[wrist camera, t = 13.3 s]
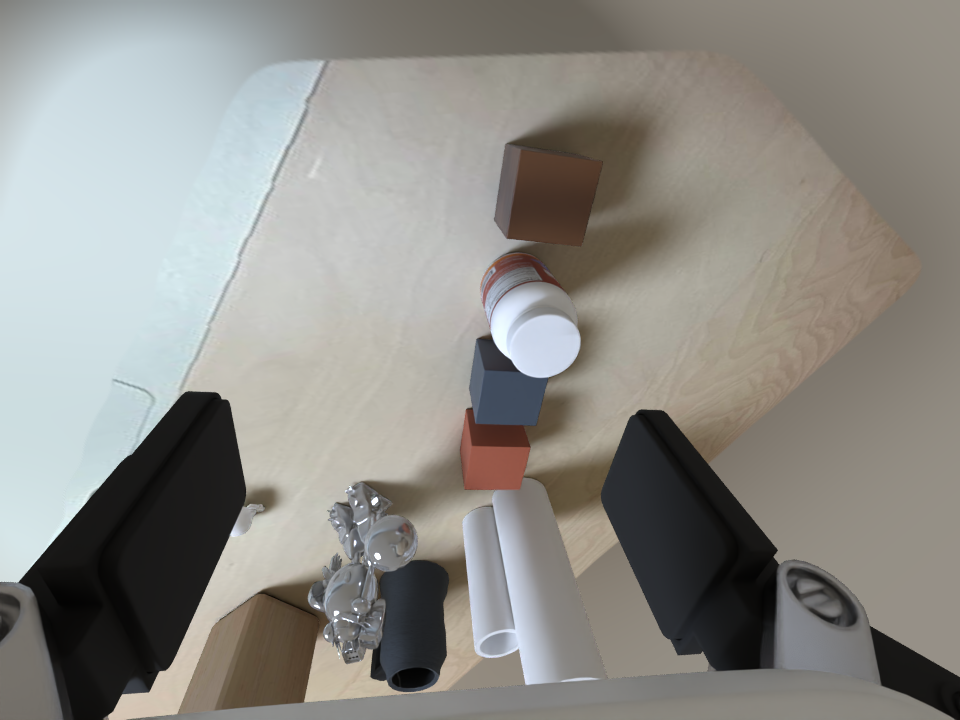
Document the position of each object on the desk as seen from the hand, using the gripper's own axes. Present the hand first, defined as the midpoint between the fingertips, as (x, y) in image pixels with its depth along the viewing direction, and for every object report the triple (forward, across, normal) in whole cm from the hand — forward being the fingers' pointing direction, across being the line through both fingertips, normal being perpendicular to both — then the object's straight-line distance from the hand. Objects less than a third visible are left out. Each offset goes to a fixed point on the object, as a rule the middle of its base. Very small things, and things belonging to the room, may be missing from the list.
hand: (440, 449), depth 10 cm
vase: (+26, -12, +33) cm, 44 cm away
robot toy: (+26, +4, +31) cm, 41 cm away
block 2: (+26, -8, +21) cm, 35 cm away
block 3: (+26, -8, -3) cm, 28 cm away
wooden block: (+26, +17, +54) cm, 63 cm away
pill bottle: (+26, -8, +5) cm, 28 cm away
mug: (+26, -1, +48) cm, 55 cm away
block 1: (+26, -8, +13) cm, 30 cm away
